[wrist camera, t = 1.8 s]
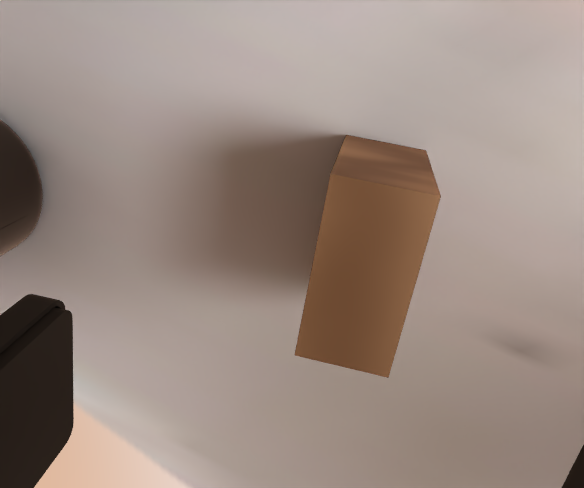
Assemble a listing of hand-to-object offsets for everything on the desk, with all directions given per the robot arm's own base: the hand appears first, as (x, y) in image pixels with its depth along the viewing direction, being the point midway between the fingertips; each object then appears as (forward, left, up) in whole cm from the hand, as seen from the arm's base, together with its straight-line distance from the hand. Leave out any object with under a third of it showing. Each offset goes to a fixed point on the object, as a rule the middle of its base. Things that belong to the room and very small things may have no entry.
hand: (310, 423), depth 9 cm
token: (-1, 0, -12) cm, 12 cm away
